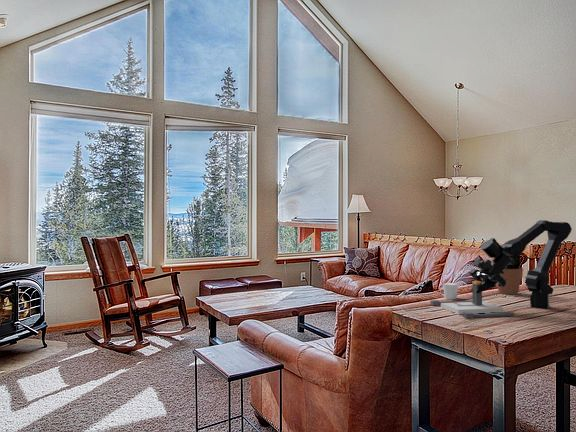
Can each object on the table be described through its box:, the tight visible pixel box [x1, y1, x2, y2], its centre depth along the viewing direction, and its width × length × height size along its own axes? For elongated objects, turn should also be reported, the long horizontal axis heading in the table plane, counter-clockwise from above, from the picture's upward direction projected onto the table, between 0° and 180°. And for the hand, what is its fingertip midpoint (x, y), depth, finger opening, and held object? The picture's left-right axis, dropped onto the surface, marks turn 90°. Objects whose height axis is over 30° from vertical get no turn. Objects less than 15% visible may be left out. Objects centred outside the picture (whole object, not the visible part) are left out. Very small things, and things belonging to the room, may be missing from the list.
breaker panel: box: [440, 300, 504, 315], centre depth 186 cm, size 20×14×2 cm
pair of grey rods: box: [430, 299, 515, 320], centre depth 186 cm, size 21×28×2 cm
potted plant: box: [496, 254, 524, 296], centre depth 227 cm, size 14×14×25 cm
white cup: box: [442, 282, 459, 300], centre depth 214 cm, size 7×7×7 cm
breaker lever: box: [471, 280, 483, 305], centre depth 187 cm, size 2×3×10 cm
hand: (474, 292), depth 187 cm, fingers closed on breaker lever, 3 cm apart
